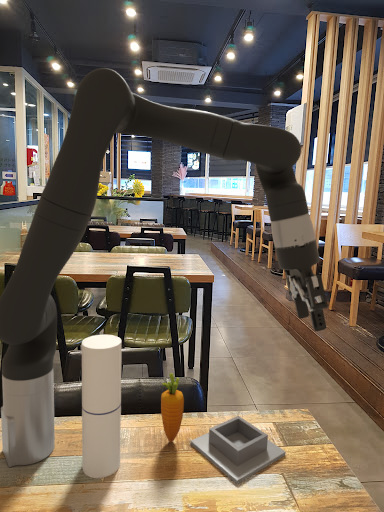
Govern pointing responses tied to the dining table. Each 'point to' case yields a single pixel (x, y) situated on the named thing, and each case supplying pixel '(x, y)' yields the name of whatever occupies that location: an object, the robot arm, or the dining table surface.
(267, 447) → the sleeve stand
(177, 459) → the dining table surface
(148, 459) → the dining table surface
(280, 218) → the robot arm
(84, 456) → the cylindrical container
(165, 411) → the carrot
